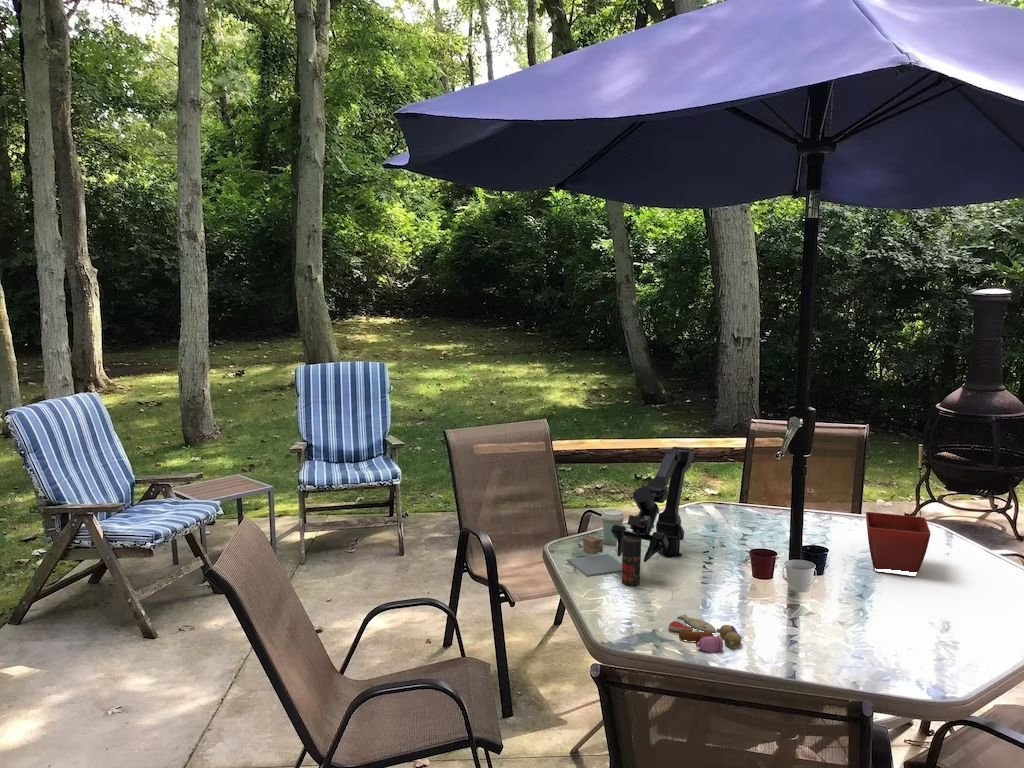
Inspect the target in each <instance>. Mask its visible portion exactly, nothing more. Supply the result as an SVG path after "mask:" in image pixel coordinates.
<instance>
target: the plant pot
mask: <svg viewBox="0 0 1024 768" xmlns="http://www.w3.org/2000/svg"><path fill="white" fill-rule="evenodd" d="M865 520H866V522H865V523H866V530H867V539H868V547H869V548H868V549H869V553H870V557H871V559H870V560H871V563H872V567H873V569H874V568H876V569H891V570H901V571H909V572H918V573H919V571H920V569H921V567H922V565H923V562H924V560H925V557H926V554H927V550H928V546H929V543H930V537H931V531H930V527H929V525H928V521H927V518H926V517H921V516H913V515H903V514H892V513H883V512H875V511H874V512H871V511H866V512H865Z"/></svg>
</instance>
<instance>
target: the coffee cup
mask: <svg viewBox="0 0 1024 768" xmlns="http://www.w3.org/2000/svg"><path fill="white" fill-rule="evenodd" d="M600 516H601V520H602V531H603V543H604V542H605V543H606V545H608V546H617V539H616V538H615V537H614V535H613V533H612V532H611V529H612V526H613V525H615V524H617V525H622V526H624V525H623V523H624V519H625V515H624V512H623V511H622V510H619V509H616V508H615V509H614V508H612V509H611V508H609V509H603V511H602V513H601V515H600ZM605 543H604V544H605Z"/></svg>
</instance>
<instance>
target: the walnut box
mask: <svg viewBox="0 0 1024 768" xmlns="http://www.w3.org/2000/svg"><path fill="white" fill-rule="evenodd" d="M582 540H583V541H582V543H583V544H582V548H583V549H582V551H583V550H584V551H583V552H585V551H586V552H585V553H587V552H588V554H590V553H591V554H590V555H592V554H593V555H596V554H595V553H597V554H599V553H598V552H600V553H603V552H604V551H603V549H604V548H603V547H604V546H603V545H604V538H601V537H599V536H596V535H595V534H593V535H590V536H589V535H588V536H585V537H583V539H582ZM602 551H603V552H602Z"/></svg>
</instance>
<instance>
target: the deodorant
mask: <svg viewBox="0 0 1024 768" xmlns="http://www.w3.org/2000/svg"><path fill="white" fill-rule="evenodd" d="M621 556H622V559H621V560H622V561H621V564H622V572H621V585H623V586H624V587H631V588H634V587H635V588H636V587H639V586H640V584H641V564H642V563H641V561H642V560H641V559H642V558H641V557H642V539H640V538H639V537H635V536H627V537H624V538H623V549H622V555H621Z"/></svg>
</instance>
